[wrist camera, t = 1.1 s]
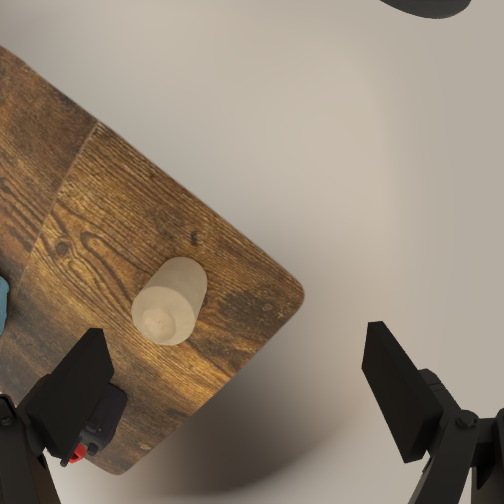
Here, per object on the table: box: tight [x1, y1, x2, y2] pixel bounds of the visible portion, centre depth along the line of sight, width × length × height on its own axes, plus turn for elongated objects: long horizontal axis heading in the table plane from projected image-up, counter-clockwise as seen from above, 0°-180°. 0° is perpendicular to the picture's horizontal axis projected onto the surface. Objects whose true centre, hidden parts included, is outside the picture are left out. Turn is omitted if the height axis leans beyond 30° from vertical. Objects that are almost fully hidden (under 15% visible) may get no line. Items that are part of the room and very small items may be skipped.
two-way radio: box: [60, 384, 127, 467], centre depth 31 cm, size 6×4×15 cm
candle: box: [131, 257, 207, 345], centre depth 29 cm, size 6×6×10 cm
